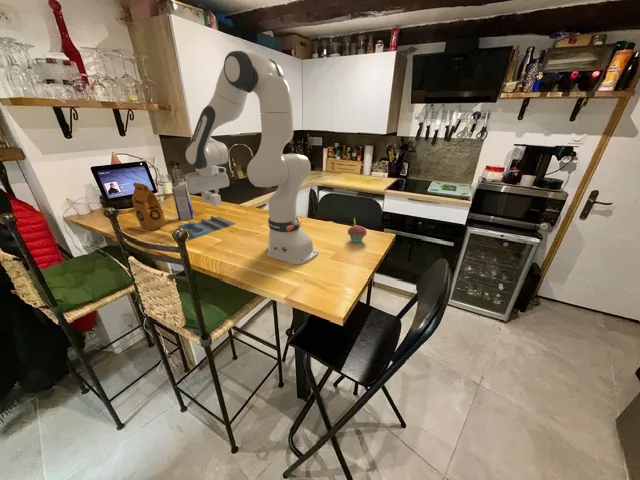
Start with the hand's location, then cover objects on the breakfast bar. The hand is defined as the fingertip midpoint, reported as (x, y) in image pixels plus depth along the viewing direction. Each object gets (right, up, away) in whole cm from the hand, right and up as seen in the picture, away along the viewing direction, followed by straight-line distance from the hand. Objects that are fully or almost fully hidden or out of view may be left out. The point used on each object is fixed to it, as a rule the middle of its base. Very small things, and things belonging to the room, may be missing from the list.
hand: (211, 198), depth 128 cm
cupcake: (+70, -21, -6) cm, 74 cm away
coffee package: (-31, -14, +4) cm, 34 cm away
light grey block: (0, -2, +1) cm, 2 cm away
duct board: (-4, -15, +2) cm, 15 cm away
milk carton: (-19, -9, +14) cm, 26 cm away
